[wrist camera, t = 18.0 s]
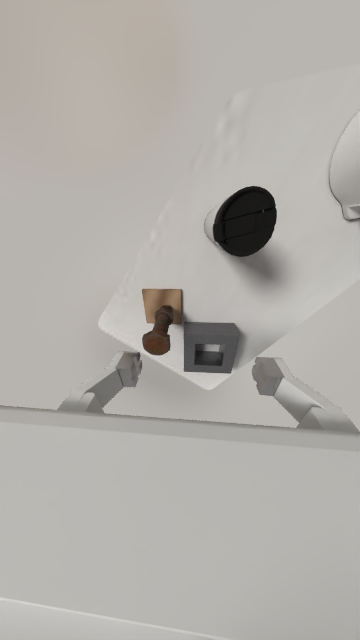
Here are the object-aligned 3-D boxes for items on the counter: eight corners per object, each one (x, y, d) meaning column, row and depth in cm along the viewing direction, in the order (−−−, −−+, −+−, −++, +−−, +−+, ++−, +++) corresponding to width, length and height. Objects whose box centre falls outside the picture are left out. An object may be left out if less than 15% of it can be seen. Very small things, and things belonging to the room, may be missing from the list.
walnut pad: (180, 289, 40) (180, 290, 39) (181, 322, 46) (181, 323, 45) (143, 288, 41) (141, 290, 40) (147, 321, 46) (146, 323, 45)
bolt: (176, 318, 44) (169, 357, 31) (158, 317, 44) (145, 356, 31) (175, 299, 41) (167, 333, 28) (156, 299, 41) (140, 333, 28)
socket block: (233, 323, 45) (239, 335, 39) (227, 358, 52) (230, 373, 47) (184, 322, 45) (183, 334, 40) (184, 357, 53) (184, 371, 48)
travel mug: (200, 212, 32) (209, 196, 15) (233, 202, 30) (286, 173, 13) (204, 245, 35) (216, 264, 18) (235, 237, 34) (280, 250, 16)
